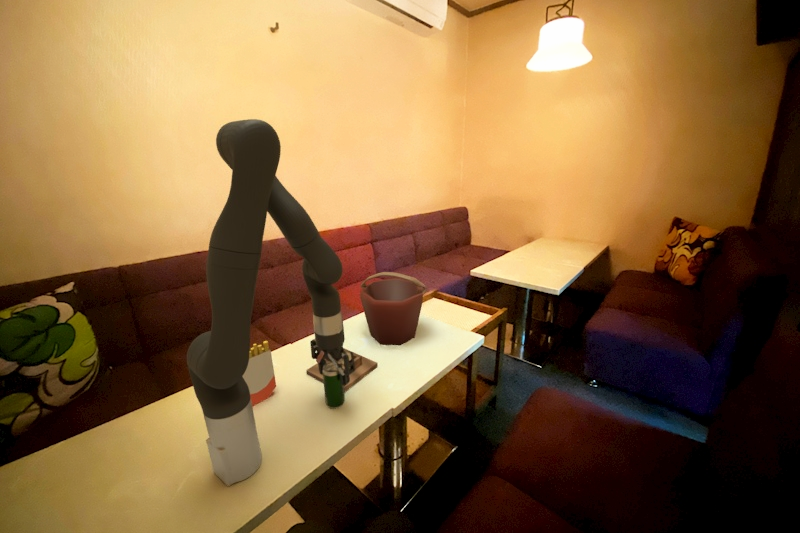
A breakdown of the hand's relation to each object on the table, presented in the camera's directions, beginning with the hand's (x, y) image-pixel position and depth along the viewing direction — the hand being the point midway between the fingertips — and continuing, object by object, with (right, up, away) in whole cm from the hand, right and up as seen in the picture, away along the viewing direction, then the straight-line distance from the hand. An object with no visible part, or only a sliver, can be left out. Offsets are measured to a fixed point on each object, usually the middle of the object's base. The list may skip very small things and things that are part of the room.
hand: (334, 378), depth 97 cm
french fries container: (-23, -8, +4) cm, 25 cm away
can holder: (0, -3, +17) cm, 17 cm away
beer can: (0, -8, +2) cm, 8 cm away
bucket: (+15, +5, +37) cm, 41 cm away
